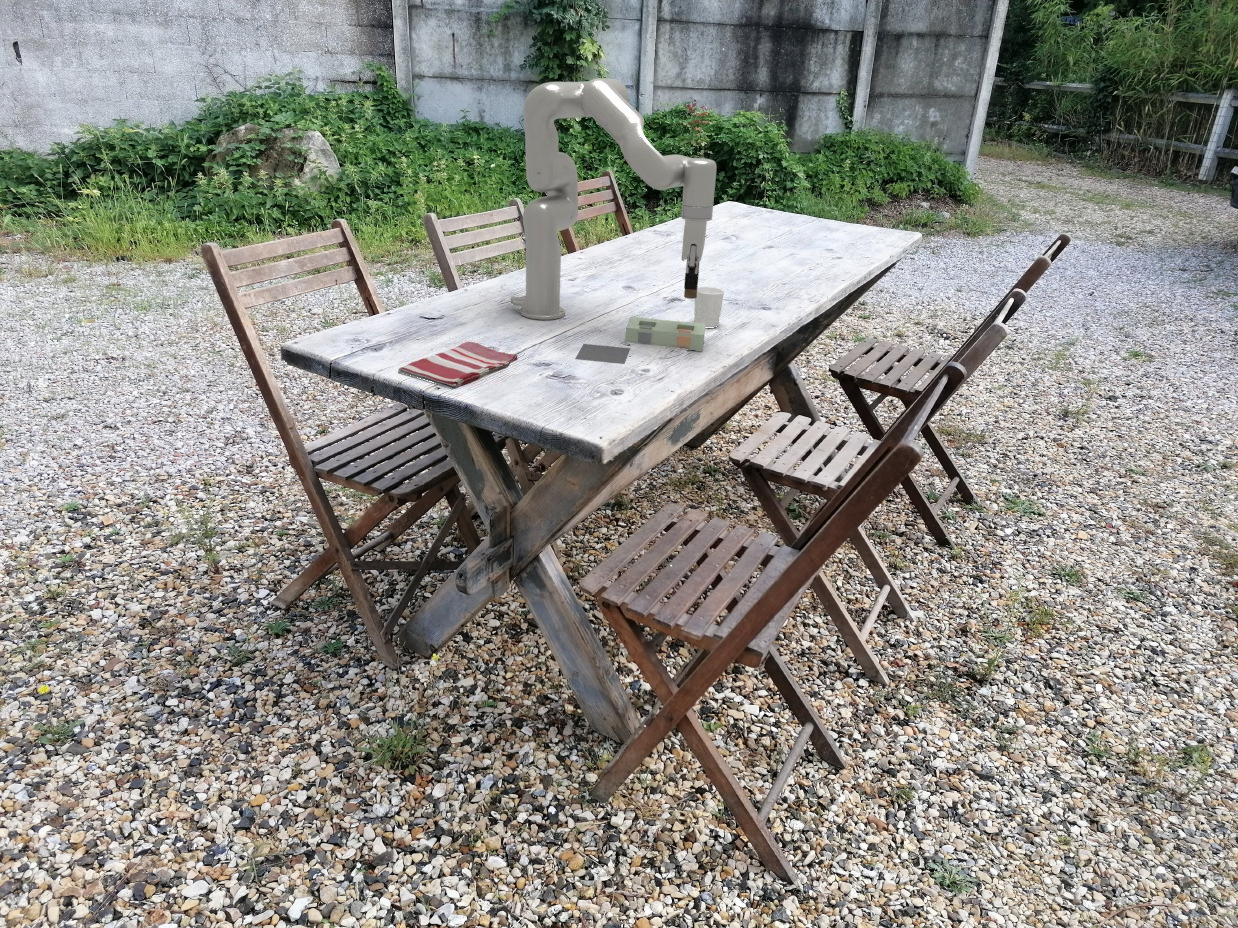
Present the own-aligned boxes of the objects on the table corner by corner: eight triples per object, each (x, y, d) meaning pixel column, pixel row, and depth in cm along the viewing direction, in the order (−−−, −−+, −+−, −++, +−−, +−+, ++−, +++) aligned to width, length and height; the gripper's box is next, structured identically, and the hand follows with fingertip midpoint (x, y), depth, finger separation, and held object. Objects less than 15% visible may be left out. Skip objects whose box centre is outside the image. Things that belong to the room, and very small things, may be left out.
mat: (574, 362, 201) (575, 359, 201) (583, 346, 212) (583, 343, 211) (624, 367, 200) (624, 363, 200) (630, 351, 211) (630, 348, 210)
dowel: (683, 298, 211) (686, 258, 207) (684, 295, 214) (687, 255, 210) (696, 299, 211) (699, 259, 207) (696, 296, 214) (700, 256, 209)
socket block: (624, 344, 215) (625, 326, 213) (629, 333, 224) (630, 315, 222) (702, 352, 213) (704, 334, 211) (703, 340, 222) (705, 322, 220)
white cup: (697, 330, 230) (701, 294, 226) (688, 321, 237) (691, 286, 233) (724, 329, 232) (728, 294, 228) (713, 321, 239) (717, 286, 235)
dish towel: (520, 364, 199) (520, 353, 198) (453, 392, 181) (453, 380, 180) (466, 349, 207) (465, 338, 206) (396, 374, 188) (396, 363, 187)
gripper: (683, 206, 211) (678, 278, 219) (679, 217, 196) (673, 294, 204) (713, 208, 210) (706, 281, 218) (711, 219, 196) (704, 296, 204)
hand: (691, 286), depth 211 cm, fingers closed on dowel, 3 cm apart
